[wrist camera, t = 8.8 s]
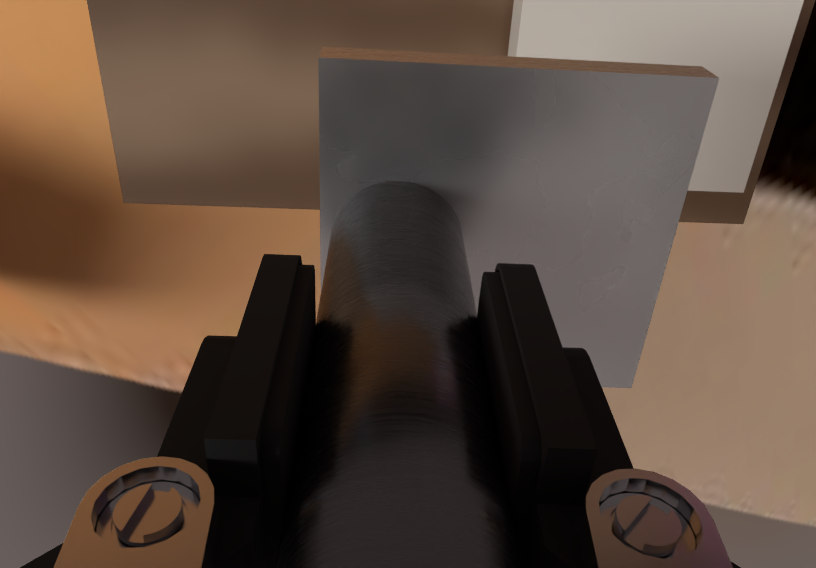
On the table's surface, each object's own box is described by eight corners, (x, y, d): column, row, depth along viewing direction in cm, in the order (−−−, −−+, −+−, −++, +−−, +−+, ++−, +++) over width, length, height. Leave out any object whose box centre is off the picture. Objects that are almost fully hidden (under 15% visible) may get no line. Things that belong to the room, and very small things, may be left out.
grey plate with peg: (621, 366, 17) (907, 1002, 7) (324, 356, 16) (236, 1008, 7) (701, 66, 13) (1466, 582, 4) (322, 47, 13) (131, 556, 3)
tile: (494, 163, 30) (721, 171, 31) (500, 183, 28) (743, 192, 29) (520, -69, 26) (787, -56, 26) (530, -63, 24) (819, -50, 24)
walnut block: (659, 135, 42) (743, 224, 32) (191, 118, 41) (123, 202, 31) (723, -134, 35) (857, -132, 25) (158, -163, 34) (55, -173, 24)
